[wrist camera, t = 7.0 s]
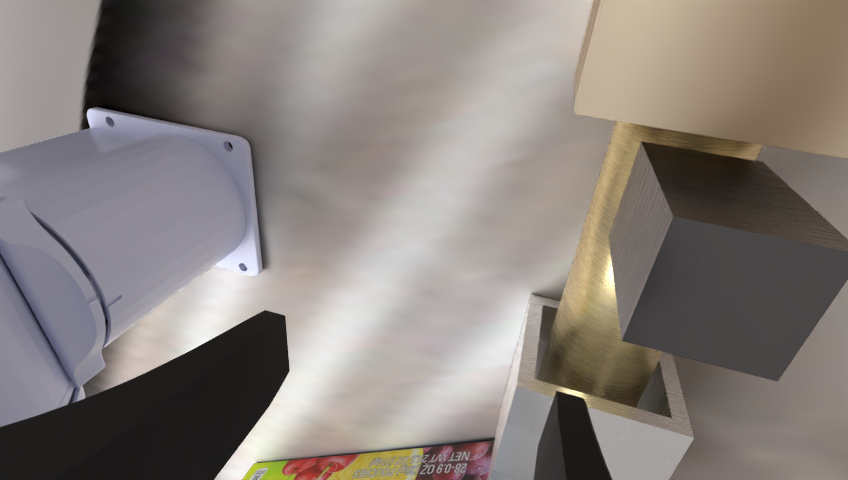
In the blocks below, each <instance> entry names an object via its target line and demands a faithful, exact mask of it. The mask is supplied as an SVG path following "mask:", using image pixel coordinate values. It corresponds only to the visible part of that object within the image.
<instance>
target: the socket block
mask: <svg viewBox="0 0 848 480" xmlns="http://www.w3.org/2000/svg"><path fill="white" fill-rule="evenodd" d="M574 114H577V115H583V116H589V117H595V118H601V119H607V120H613V121H620V122H626V123H632V124H638V125H644V126H650V127H656V128H662V129H668V130H674V131H681V132H687V133H693V134H699V135H705V136H711V137H717V138H723V139H729V140H736V141H742V142H748V143H754V144H760V145H766V146H772V147H778V148H784V149H791V150H797V151H803V152H809V153H815V154H821V155H827V156H833V157H839V158H845V159H848V0H593V4H592V8H591V12H590V16H589V20H588V24H587V28H586V32H585V36H584V40H583V44H582V48H581V52H580V56H579V60H578V64H577V68H576V72H575V101H574Z"/></svg>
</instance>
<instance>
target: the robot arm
mask: <svg viewBox="0 0 848 480" xmlns="http://www.w3.org/2000/svg"><path fill="white" fill-rule="evenodd" d="M87 118H88V121H89V125H90V128H89V129H86V130H82V131H78V132H75V133H71V134H67V135H64V136H60V137H56V138H53V139H49V140H45V141H42V142H38V143H34V144H31V145H28V146H23V147H20V148H16V149H12V150H9V151H5V152H2V153H0V480H214V479H215V477H216V476H217V475H218V473H219V472H220V471H221V469H222V468H223V467H224V465H225V464H226V463H227V462H228V460H229V459H230V458H231V456H232V455H233V454H234V452H235V451H236V450H237V448H238V447H239V446H240V444H241V443H242V442H243V440H244V439H245V438H246V436H247V435H248V434H249V432H250V431H251V430H252V428H253V427H254V426H255V424H256V423H257V422H258V420H259V419H260V418H261V416H262V415H263V414H264V412H265V411H266V410H267V408H268V407H269V405H270V404H271V402H272V401H273V399H274V397H275V396H276V394H277V392H278V391H279V389H280V387H281V385H282V383H283V382H284V380H285V378H286V376H287V374H288V373H289V358H288V346H287V333H286V321H285V316H284V315H281V314H277V313H273V312H270V311H266V310H265V311H263V312H261V313H259V314H257V315H255V316H253V317H251V318H249V319H248V320H246V321H244V322H242V323H240V324H239V325H237V326H235V327H233V328H231V329H230V330H228V331H226V332H224V333H222V334H221V335H219V336H217V337H215V338H213V339H211V340H209V341H208V342H206V343H204V344H202V345H200V346H198V347H196V348H195V349H193V350H191V351H189V352H187V353H185V354H183V355H181V356H179V357H177V358H175V359H173V360H171V361H169V362H167V363H165V364H163V365H161V366H159V367H157V368H155V369H153V370H151V371H149V372H147V373H145V374H142V375H140V376H138V377H136V378H134V379H131V380H129V381H127V382H124V383H122V384H120V385H117V386H115V387H113V388H110V389H108V390H105V391H103V392H100V393H98V394H95V395H93V396H90V397H88V398H85V394H84V390H83V387H82V385H83V384H84V383H86V382H87V381H88V380H90V379H91V378H92V377H93V376H95V375H96V374H97V373H98V372H100V371H101V370H102V369H104V368H105V363H104V360H103V357H102V351H101V350H102V349H103V348H104V347H106V346H107V345H108V344H110V343H111V342H112V341H114V340H115V339H116V338H118V337H119V336H120V335H122V334H123V333H124V332H126V331H127V330H129V329H130V328H131V327H133V326H134V325H135V324H137V323H138V322H139V321H141V320H142V319H143V318H145V317H146V316H147V315H149V314H150V313H151V312H153V311H154V310H155V309H157V308H158V307H159V306H161V305H162V304H163V303H165V302H166V301H167V300H169V299H170V298H171V297H173V296H174V295H175V294H177V293H178V292H180V291H181V290H182V289H184V288H185V287H186V286H188V285H189V284H190V283H192V282H193V281H194V280H196V279H197V278H198V277H200V276H201V275H202V274H204V273H205V272H206V271H208V270H209V269H210V268H212V267H213V266H216V267H220V268H224V269H227V270H231V271H235V272H238V273H242V274H246V275H249V276H254V277H255V276H258V275H259V274H260V273H261V272H262V259H261V249H260V239H259V229H258V218H257V208H256V198H255V188H254V178H253V168H252V158H251V148H250V144H249V143H248V141H247V140H246V139H245V138H243V137H241V136H236V135H231V134H226V133H221V132H216V131H211V130H206V129H201V128H197V127H192V126H187V125H182V124H177V123H172V122H167V121H162V120H157V119H152V118H147V117H142V116H137V115H133V114H128V113H123V112H118V111H113V110H108V109H103V108H98V107H97V108H91V109H89V110H88V112H87ZM229 142H230V143H231V144H232V147H233V149H232V148H231V147H230V146H229ZM244 264H245V265H246V266H245V265H244ZM534 480H612V477H611V475H610V472H609V470H608V467H607V465H606V462H605V460H604V457H603V454H602V451H601V448H600V446H599V443H598V440H597V437H596V434H595V431H594V428H593V425H592V422H591V418H590V415H589V411H588V408H587V404H586V402H585V400H584V399H583V398H582V397H578V396H574V395H571V394H567V393H564V392H560V391H556V393H555V396H554V399H553V402H552V405H551V408H550V411H549V414H548V417H547V420H546V423H545V426H544V429H543V432H542V435H541V438H540V441H539V444H538V449H537V457H536V465H535V473H534Z"/></svg>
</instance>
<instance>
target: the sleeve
mask: <svg viewBox="0 0 848 480" xmlns="http://www.w3.org/2000/svg"><path fill="white" fill-rule="evenodd" d="M559 304H560V301H557V300H553V299H549V298H545V297H541V296H537V295H533V294H531V296H530V299H529V303H528V307H527V311H526V315H525V318H524V322H523V326H522V330H521V333H520V337H519V341H518V345H517V348H516V352H515V356H514V360H513V363H512V367H511V371H510V375H509V378H508V382H507V386H506V390H505V393H504V397H503V401H502V405H501V409H500V414H499V419H498V425H497V430H496V435H495V441H494V446H493V451H492V457H491V462H490V467H489V473H488V478H487V480H534V473H535V465H536V457H537V449H538V444H539V441H540V438H541V435H542V432H543V429H544V426H545V423H546V420H547V417H548V414H549V411H550V408H551V405H552V402H553V399H554V396H555V393H556V391H560V392H564V393H567V394H571V395H574V396H578V397H582V398H583V399H584V400H585V402H586V404H587V408H588V411H589V415H590V418H591V422H592V425H593V428H594V431H595V434H596V437H597V440H598V443H599V446H600V448H601V451H602V454H603V457H604V460H605V462H606V465H607V467H608V470H609V472H610V475H611V477H612V480H669V479H670V477H671V475H672V474H673V472H674V470H675V469H676V467H677V466H678V464H679V462H680V461H681V459H682V457H683V456H684V454H685V452H686V451H687V449H688V448H689V446H690V444H691V443H692V441H693V439H694V435H693V431H692V427H691V423H690V419H689V416H688V412H687V408H686V404H685V400H684V397H683V393H682V389H681V385H680V381H679V377H678V374H677V370H676V366H675V362H674V358H673V355H672V354H669V353H665V352H663V353H662V355H661V357H660V359H659V361H658V364H657V366H656V368H655V370H654V372H653V374H652V376H651V378H650V380H649V382H648V384H647V386H646V388H645V390H644V392H643V394H642V396H641V399H640V401H639V403H638V405H637V407H636V408H634V407H630V406H627V405H623V404H620V403H616V402H613V401H609V400H606V399H602V398H599V397H595V396H592V395H588V394H585V393H581V392H578V391H574V390H571V389H567V388H564V387H560V386H557V385H553V384H550V383H546V382H543V381H539V380H536V379H537V375H538V372H539V369H540V366H541V363H542V359H543V356H544V353H545V350H546V346H547V343H548V340H549V337H550V333H551V330H552V327H553V324H554V321H555V317H556V314H557V311H558V308H559Z"/></svg>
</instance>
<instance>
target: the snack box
mask: <svg viewBox="0 0 848 480" xmlns="http://www.w3.org/2000/svg"><path fill="white" fill-rule="evenodd" d="M493 446H494V441H485V442H476V443H466V444H457V445H446V446H436V447H426V448H416V449H405V450H394V451H384V452H373V453H363V454H352V455H341V456H330V457H319V458H308V459H297V460H287V461H274V462H263V463H254V464H253V465H252V467H251V468H250V469H249V471H248V472H247V474H246V475H245V476H244V478H243V479H242V480H487V478H488V473H489V467H490V462H491V457H492V451H493Z"/></svg>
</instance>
